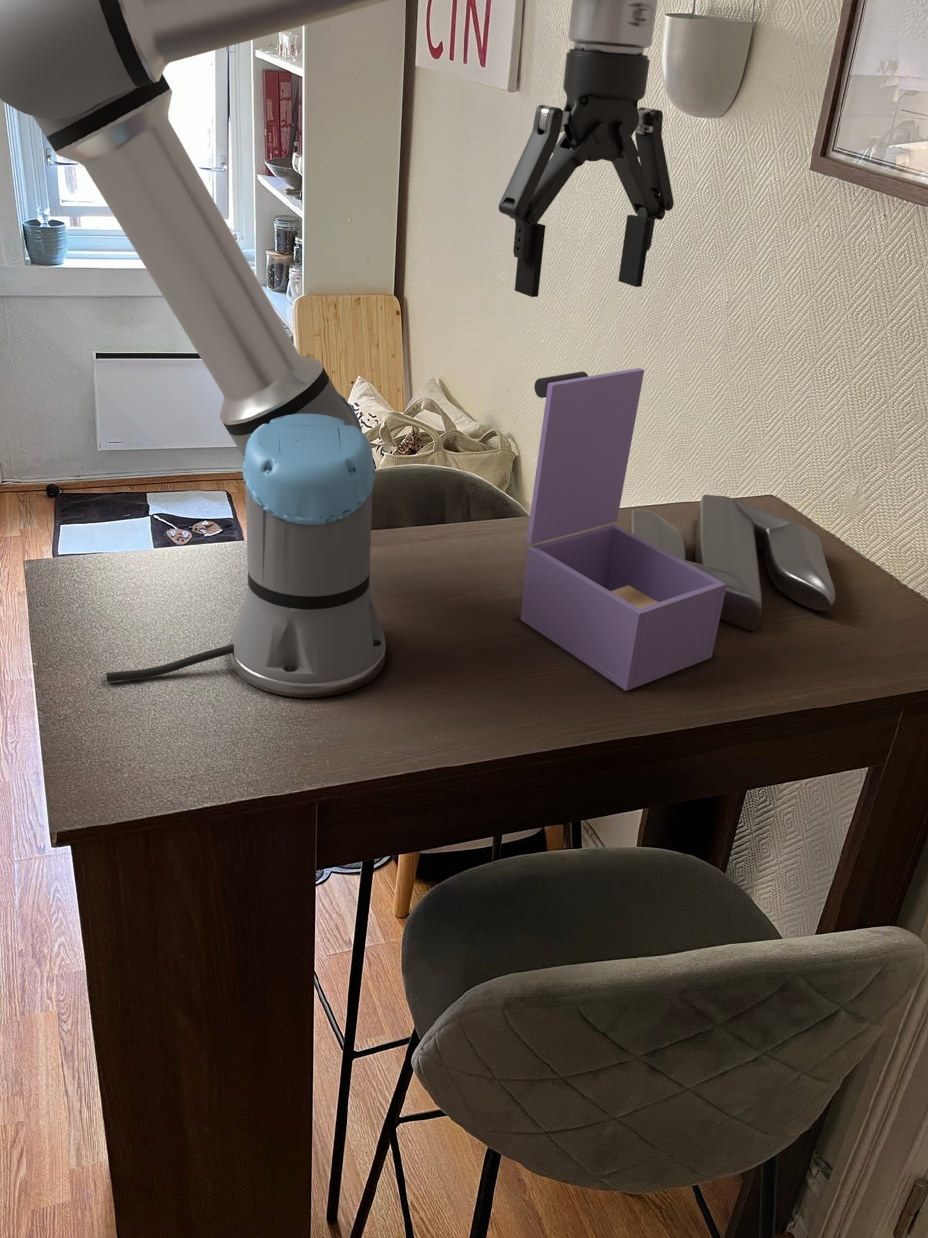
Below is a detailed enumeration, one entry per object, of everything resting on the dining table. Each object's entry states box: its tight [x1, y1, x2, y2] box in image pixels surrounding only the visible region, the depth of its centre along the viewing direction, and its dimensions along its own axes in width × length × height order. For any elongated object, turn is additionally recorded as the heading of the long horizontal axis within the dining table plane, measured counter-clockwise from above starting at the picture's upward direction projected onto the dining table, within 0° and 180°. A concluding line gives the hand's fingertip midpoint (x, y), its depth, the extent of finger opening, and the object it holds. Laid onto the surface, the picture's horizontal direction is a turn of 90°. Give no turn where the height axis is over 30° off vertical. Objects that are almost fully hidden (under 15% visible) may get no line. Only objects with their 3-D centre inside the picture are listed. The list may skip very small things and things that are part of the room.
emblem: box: [629, 494, 836, 631], centre depth 134 cm, size 28×5×28 cm
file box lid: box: [526, 367, 645, 545], centre depth 117 cm, size 17×13×6 cm
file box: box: [520, 523, 727, 692], centre depth 117 cm, size 17×13×9 cm
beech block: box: [611, 585, 658, 609], centre depth 117 cm, size 4×4×4 cm
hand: (579, 288), depth 110 cm, fingers open, 13 cm apart
